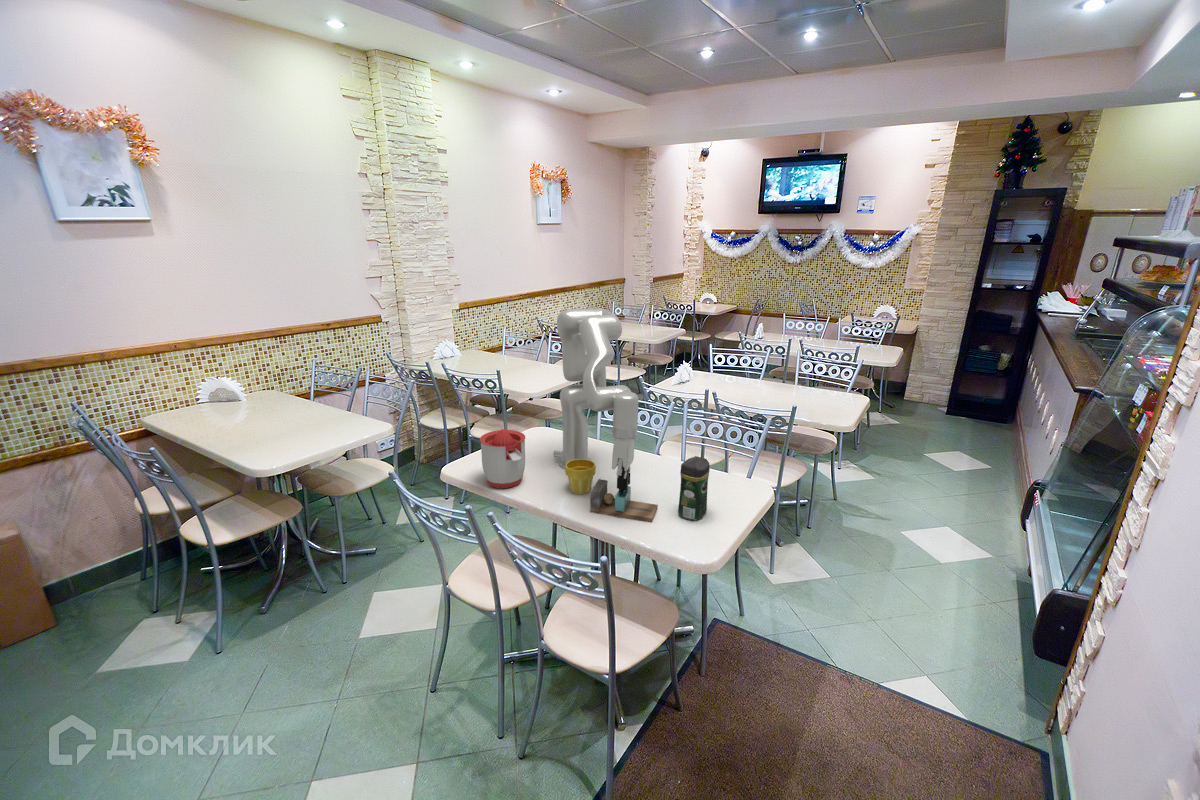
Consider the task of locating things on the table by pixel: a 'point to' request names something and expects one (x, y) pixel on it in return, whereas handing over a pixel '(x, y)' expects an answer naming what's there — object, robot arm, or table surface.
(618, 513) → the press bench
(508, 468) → the citrus juicer
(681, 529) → the table surface
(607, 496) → the walnut
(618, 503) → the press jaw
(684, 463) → the coffee jar
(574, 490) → the plant pot
